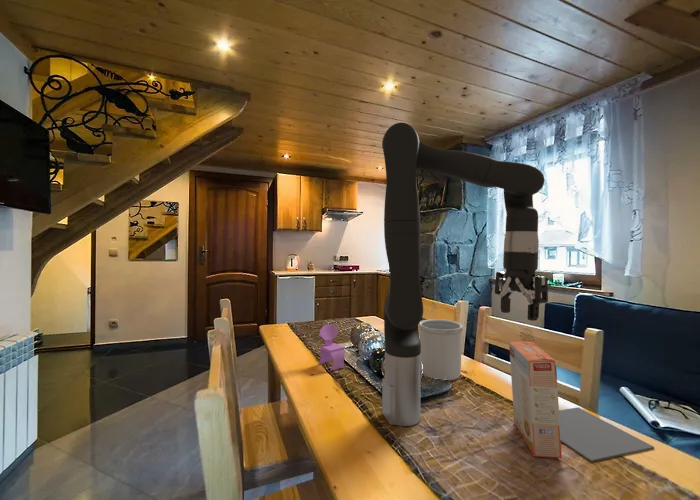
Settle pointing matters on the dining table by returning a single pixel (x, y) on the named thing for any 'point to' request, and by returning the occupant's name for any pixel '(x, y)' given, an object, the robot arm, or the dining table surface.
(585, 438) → the mat
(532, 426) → the cracker box
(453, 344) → the utensil holder
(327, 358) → the toy chair
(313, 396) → the dining table surface
